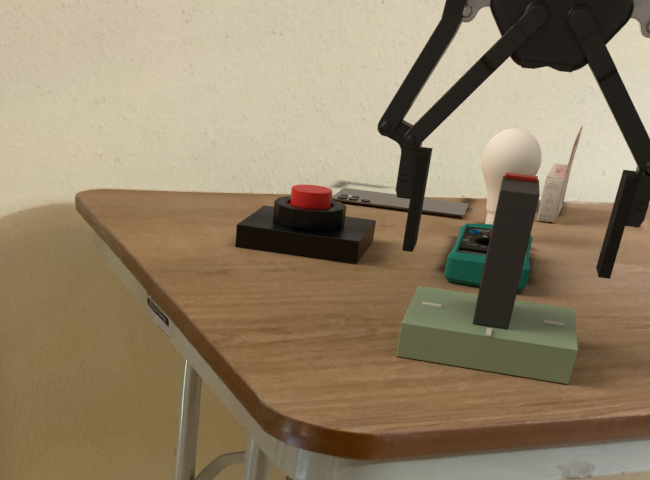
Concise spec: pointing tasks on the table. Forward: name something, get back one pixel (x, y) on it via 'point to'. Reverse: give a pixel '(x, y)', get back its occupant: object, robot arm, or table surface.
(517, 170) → the lightbulb
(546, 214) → the ink cartridge box
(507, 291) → the switch lever
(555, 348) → the panel
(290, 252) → the button box
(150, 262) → the table surface
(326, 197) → the button
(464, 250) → the digital multimeter
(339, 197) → the smartphone
